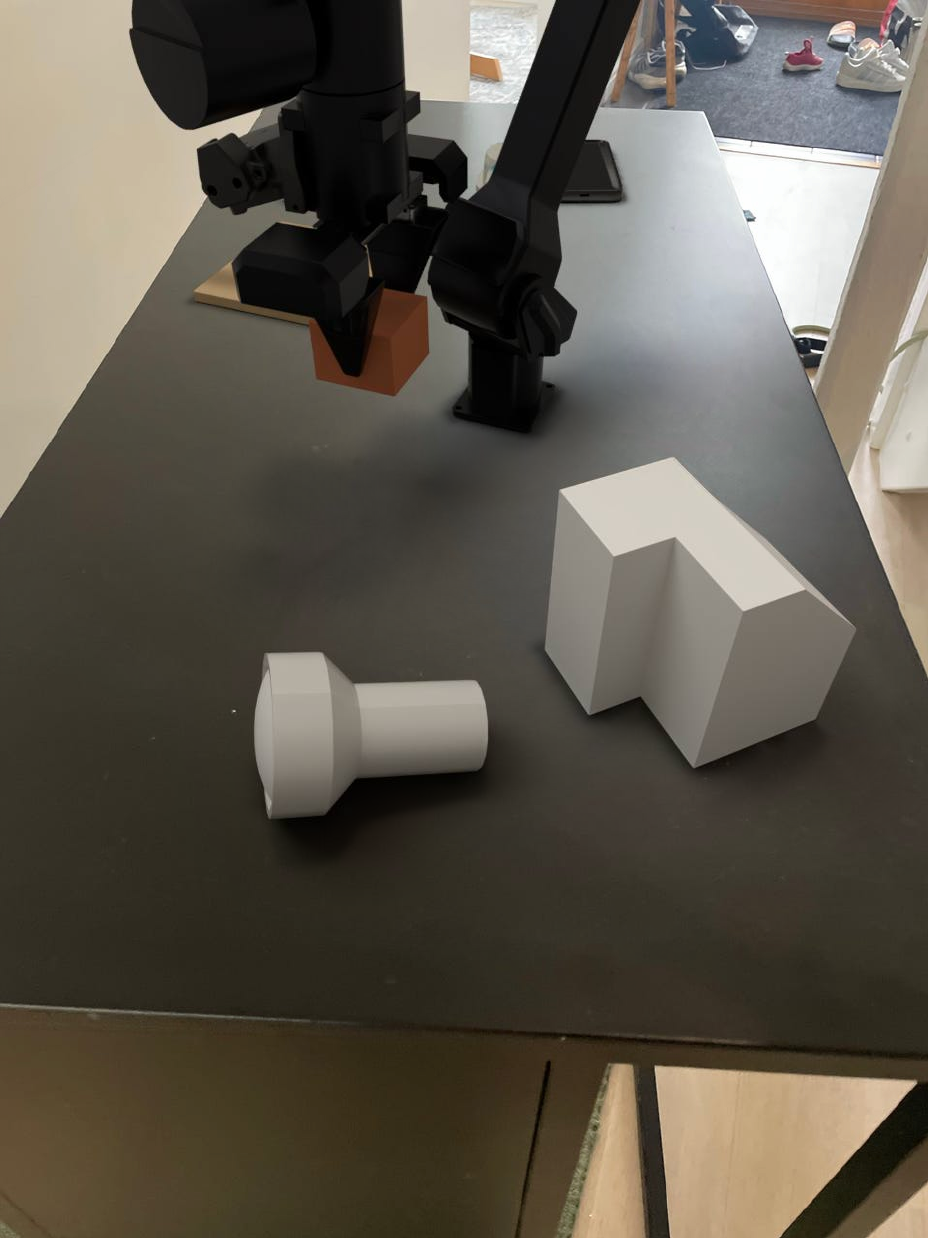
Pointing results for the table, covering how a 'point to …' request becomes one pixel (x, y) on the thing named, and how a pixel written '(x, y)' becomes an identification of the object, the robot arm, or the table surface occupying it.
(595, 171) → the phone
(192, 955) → the table surface
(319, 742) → the spotlight
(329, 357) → the orange square block
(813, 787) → the table surface
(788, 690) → the corner bracket
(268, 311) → the wooden board with frame
